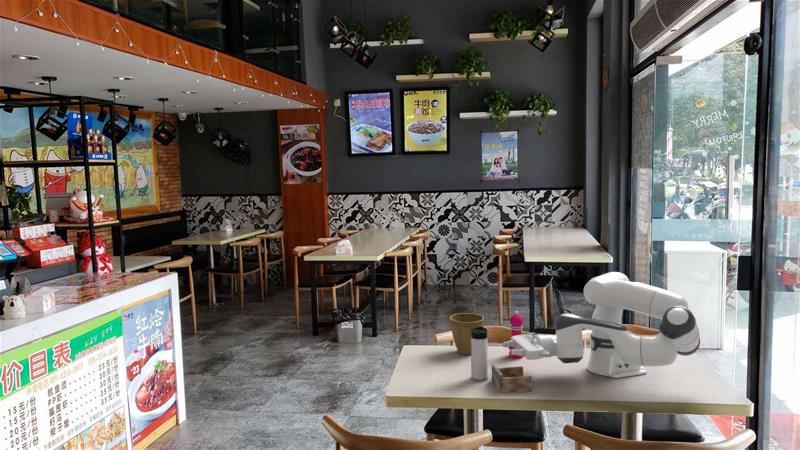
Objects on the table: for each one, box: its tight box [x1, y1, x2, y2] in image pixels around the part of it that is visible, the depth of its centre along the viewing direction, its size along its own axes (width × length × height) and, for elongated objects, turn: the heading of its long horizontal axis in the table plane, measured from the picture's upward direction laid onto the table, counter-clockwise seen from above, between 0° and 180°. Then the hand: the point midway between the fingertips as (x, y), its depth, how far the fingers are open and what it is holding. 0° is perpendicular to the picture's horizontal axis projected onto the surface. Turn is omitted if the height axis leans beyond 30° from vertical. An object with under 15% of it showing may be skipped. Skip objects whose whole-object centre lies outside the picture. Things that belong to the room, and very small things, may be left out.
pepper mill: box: [507, 310, 525, 359], centre depth 260 cm, size 7×7×20 cm
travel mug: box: [470, 326, 489, 383], centre depth 234 cm, size 6×7×20 cm
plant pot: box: [449, 312, 485, 356], centre depth 266 cm, size 15×15×16 cm
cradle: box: [491, 363, 533, 394], centre depth 227 cm, size 12×12×7 cm
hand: (507, 348), depth 235 cm, fingers open, 8 cm apart
